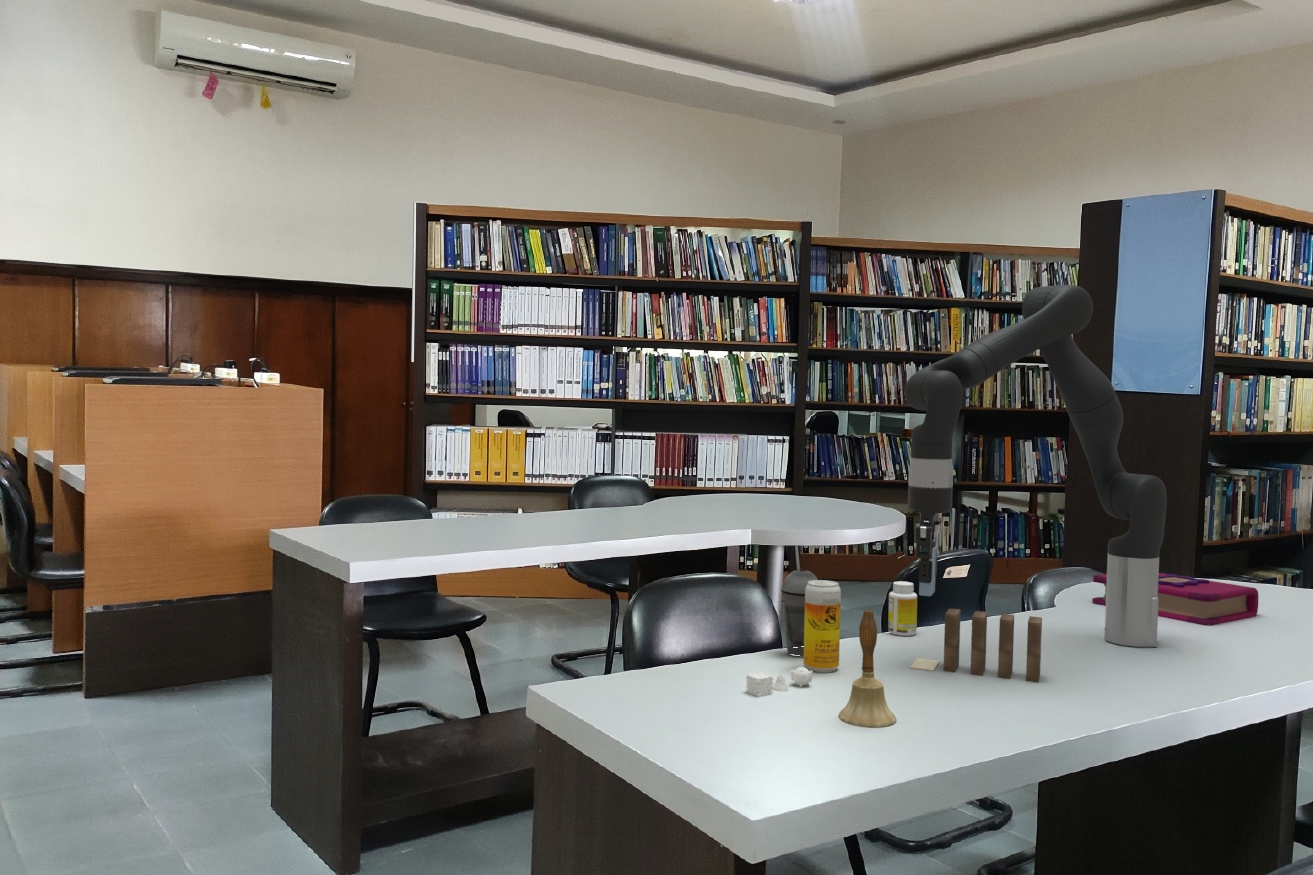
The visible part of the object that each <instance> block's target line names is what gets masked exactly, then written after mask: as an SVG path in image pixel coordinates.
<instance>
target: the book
mask: <svg viewBox="0 0 1313 875" xmlns="http://www.w3.org/2000/svg"><path fill="white" fill-rule="evenodd" d="M1092 578H1093V579H1092V581H1093V582H1094V583H1096V584H1097V583H1098V584H1103V586H1104V587H1105V588H1104V589H1105V591H1104V592H1105V594H1103V595H1104V596H1097V597H1093V598H1092V601H1091V602H1092V604H1094V605H1098V606H1104V607H1106V586H1107V573H1103V574H1100V573H1099V574H1093V576H1092ZM1158 599H1159V601H1158V618H1159V617H1160V618H1164V619H1165V618H1166V619H1171V620H1176V621H1181V622H1184V623H1185V622H1186V623H1190V624H1194V625H1201V626H1206V627H1211V626H1217V625H1220V624H1226V623H1231V622H1236V621H1239V620H1241V621H1242V620H1245V619H1251V618H1255V617H1256V616H1257V614H1258V611H1259V610H1258V609H1259V591H1258V589H1257V588H1256V587H1251V586H1246V585H1245V586H1244V585H1238V584H1233V583H1226V582H1220V581H1212V580H1209V579H1206V578H1205V579H1204V578H1195V577H1193V576H1187V575H1177V574H1173V573H1163V572H1159V576H1158Z"/></svg>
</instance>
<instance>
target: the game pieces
mask: <svg viewBox="0 0 1313 875" xmlns="http://www.w3.org/2000/svg"><path fill="white" fill-rule="evenodd" d="M813 672H814V671H810V670H808V669H807V668H806V666H805V667H804V666H799V667H797V668H795V669H791V670H790V680H791V682H794V683H793V684H794V686H796V685H797V686H798V687H800V688H802V687H804V686H807V687H809V685H810V684H811V683H812V680H813ZM745 679H746V690H745V692H746V693H747V694H750V695H753V696H755V697H757V698H758V697H762V696H763V697H765V696H768V695H773V694H774V691H775V692H782V693H783V692H789V691H790V689H791V688H790V687H789V684H788V683H787V681H786V678H785V676H784V674H782V673H779V675H777V678H776V680H775V682H773V681H774V677H773V675H771V674H767V673H764V672H763V671H762V672H761V671H758V672H755V673H752V674H750V673H748V674H747V675H746V677H745Z"/></svg>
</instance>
